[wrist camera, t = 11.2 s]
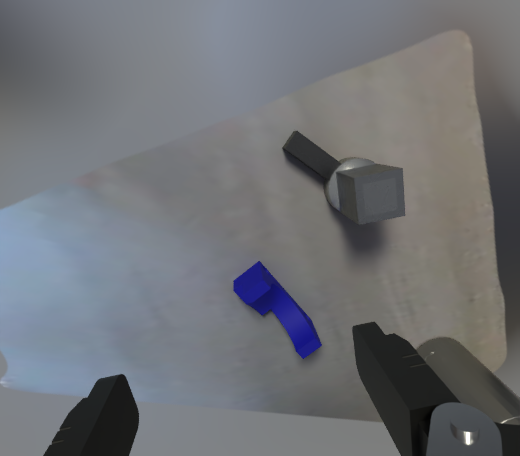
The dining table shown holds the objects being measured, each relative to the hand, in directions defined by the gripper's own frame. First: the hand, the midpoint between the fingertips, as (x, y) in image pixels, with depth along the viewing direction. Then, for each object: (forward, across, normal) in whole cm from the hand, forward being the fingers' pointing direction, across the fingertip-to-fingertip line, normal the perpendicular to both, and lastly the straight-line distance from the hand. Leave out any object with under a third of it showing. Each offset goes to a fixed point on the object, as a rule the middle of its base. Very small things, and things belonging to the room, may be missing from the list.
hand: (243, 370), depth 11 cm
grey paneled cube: (+28, -15, +1) cm, 31 cm away
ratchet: (+30, -12, -1) cm, 33 cm away
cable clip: (+30, -2, +15) cm, 34 cm away
